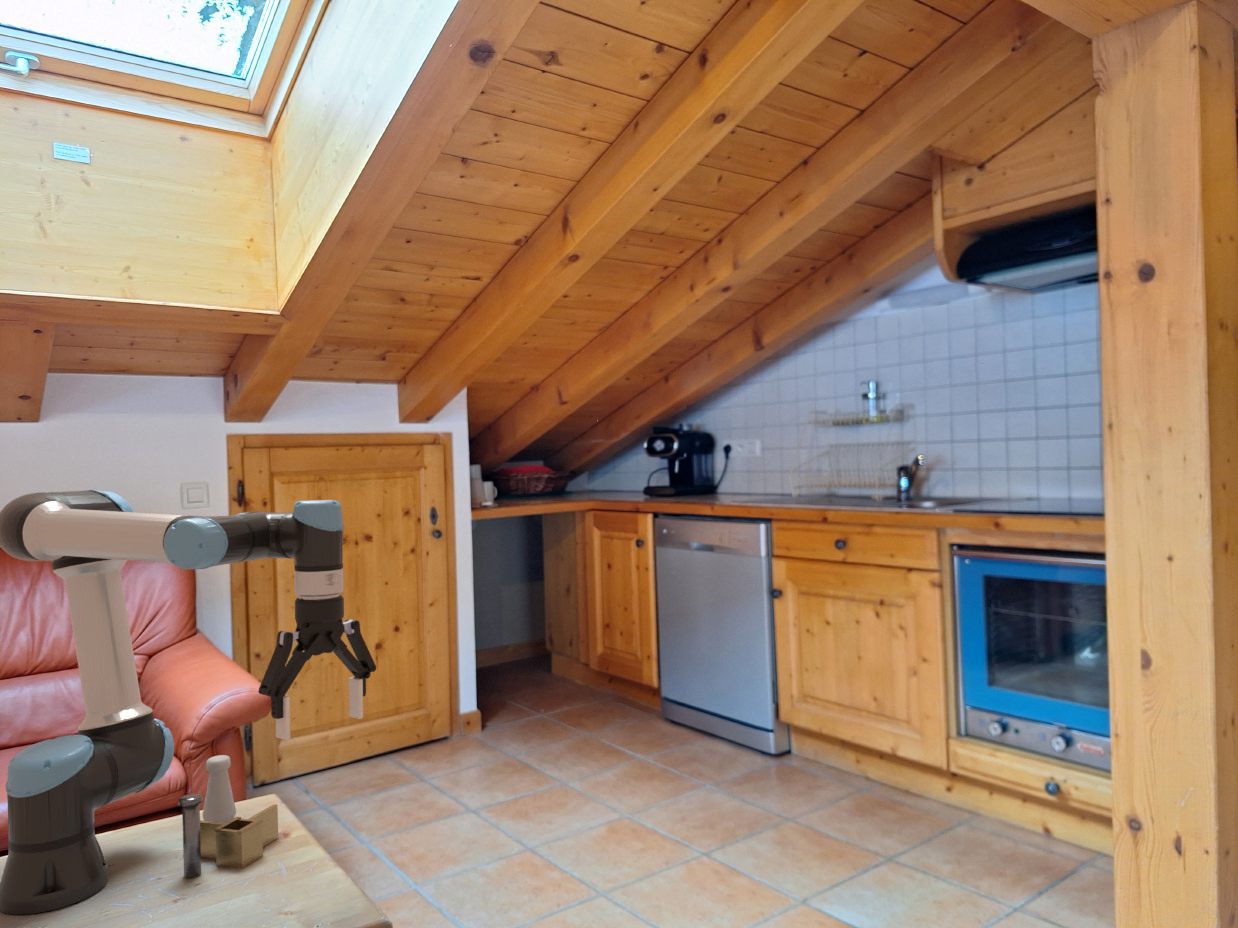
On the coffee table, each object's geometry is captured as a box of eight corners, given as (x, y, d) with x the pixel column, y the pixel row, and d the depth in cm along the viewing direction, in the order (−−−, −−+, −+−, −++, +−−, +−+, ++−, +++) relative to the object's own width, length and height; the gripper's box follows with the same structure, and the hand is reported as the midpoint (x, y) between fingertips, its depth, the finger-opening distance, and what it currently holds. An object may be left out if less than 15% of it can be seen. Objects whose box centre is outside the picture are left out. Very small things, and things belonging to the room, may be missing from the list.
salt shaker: (196, 831, 165) (194, 761, 165) (215, 819, 170) (213, 751, 170) (224, 832, 164) (222, 762, 164) (242, 820, 169) (241, 752, 169)
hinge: (182, 861, 152) (181, 825, 152) (232, 832, 163) (231, 799, 163) (242, 868, 148) (241, 831, 148) (289, 838, 160) (288, 804, 160)
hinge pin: (175, 878, 145) (173, 800, 145) (191, 868, 149) (189, 792, 149) (193, 880, 144) (191, 802, 144) (209, 870, 148) (207, 794, 148)
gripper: (261, 608, 130) (263, 752, 130) (396, 588, 150) (397, 712, 150) (233, 604, 135) (235, 743, 135) (368, 585, 155) (369, 706, 155)
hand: (321, 727), depth 142 cm, fingers open, 13 cm apart
